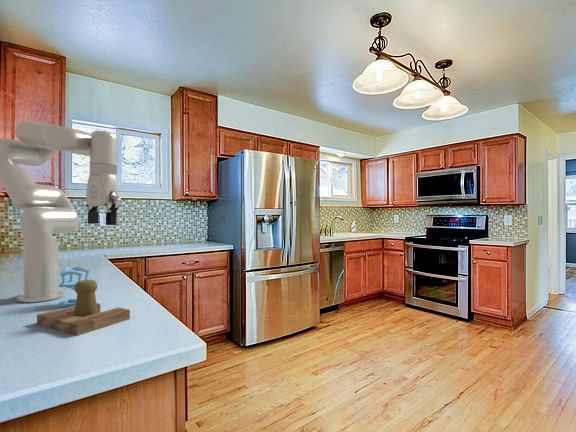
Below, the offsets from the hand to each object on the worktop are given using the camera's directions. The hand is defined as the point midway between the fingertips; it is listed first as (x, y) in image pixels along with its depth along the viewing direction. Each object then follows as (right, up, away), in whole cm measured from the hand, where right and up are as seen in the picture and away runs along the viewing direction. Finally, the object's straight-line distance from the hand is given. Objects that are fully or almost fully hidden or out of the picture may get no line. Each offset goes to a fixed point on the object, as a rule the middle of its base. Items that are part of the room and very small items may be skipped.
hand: (101, 224), depth 103 cm
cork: (+5, -26, -15) cm, 31 cm away
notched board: (+5, -26, -16) cm, 31 cm away
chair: (-9, -26, +1) cm, 28 cm away
